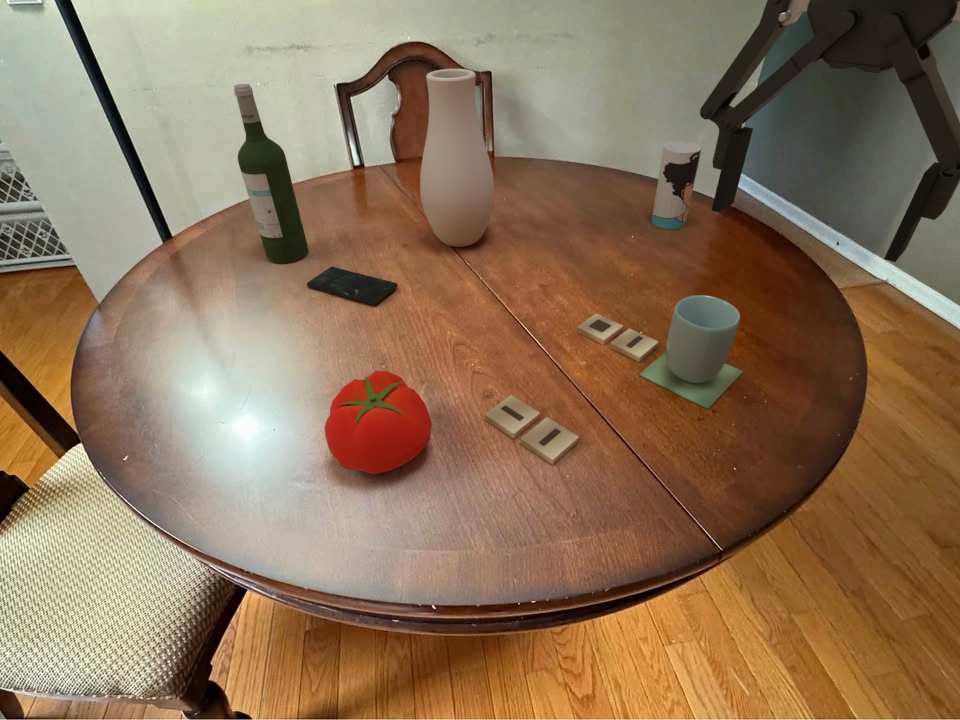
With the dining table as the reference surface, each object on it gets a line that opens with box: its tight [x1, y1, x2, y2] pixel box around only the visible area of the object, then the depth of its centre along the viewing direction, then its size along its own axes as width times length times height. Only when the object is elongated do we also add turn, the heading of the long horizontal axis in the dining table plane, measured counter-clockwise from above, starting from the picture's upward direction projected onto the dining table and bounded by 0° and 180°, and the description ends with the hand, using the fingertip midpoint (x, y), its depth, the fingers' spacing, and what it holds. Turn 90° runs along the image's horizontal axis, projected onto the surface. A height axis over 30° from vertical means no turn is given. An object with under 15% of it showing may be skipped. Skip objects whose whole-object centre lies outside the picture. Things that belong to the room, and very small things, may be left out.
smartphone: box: [306, 266, 399, 306], centre depth 96 cm, size 7×1×15 cm
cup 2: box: [665, 294, 741, 383], centre depth 72 cm, size 8×8×10 cm
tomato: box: [324, 370, 433, 475], centre depth 64 cm, size 13×12×8 cm
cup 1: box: [651, 140, 702, 230], centre depth 109 cm, size 7×7×15 cm
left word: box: [483, 394, 580, 466], centre depth 68 cm, size 11×5×1 cm, turn 45°
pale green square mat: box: [575, 313, 744, 411], centre depth 79 cm, size 22×10×1 cm, turn 45°
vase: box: [419, 68, 495, 248], centre depth 100 cm, size 14×14×30 cm
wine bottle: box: [233, 83, 309, 265], centre depth 98 cm, size 8×8×30 cm
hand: (801, 229), depth 46 cm, fingers open, 13 cm apart
